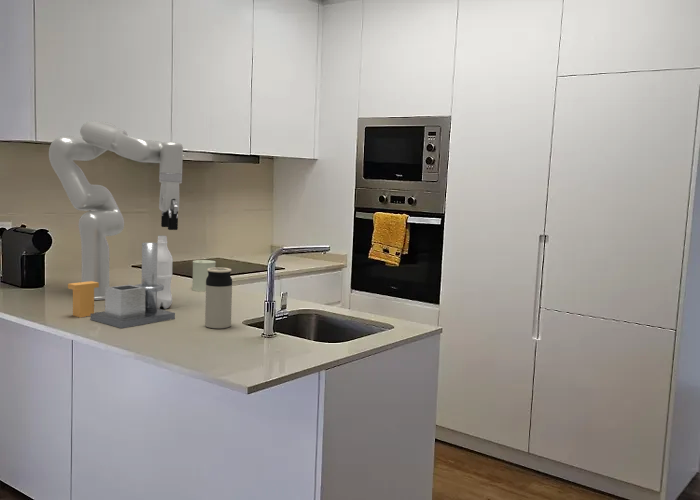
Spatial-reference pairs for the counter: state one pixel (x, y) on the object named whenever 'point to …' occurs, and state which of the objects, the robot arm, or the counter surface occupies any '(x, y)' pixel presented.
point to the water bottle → (164, 273)
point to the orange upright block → (83, 298)
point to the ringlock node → (135, 297)
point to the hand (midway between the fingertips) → (169, 228)
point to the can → (201, 273)
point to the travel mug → (218, 298)
